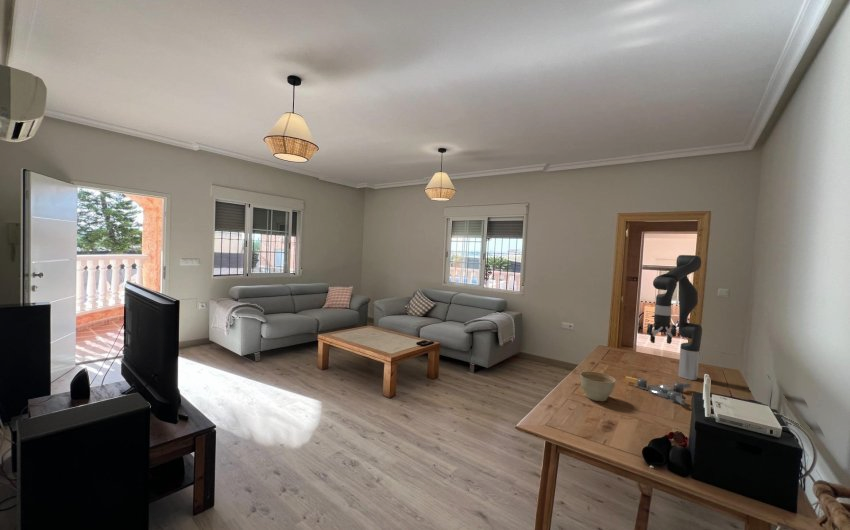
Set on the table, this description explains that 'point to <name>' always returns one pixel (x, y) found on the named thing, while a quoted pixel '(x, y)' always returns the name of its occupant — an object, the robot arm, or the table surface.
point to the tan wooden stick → (637, 381)
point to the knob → (676, 397)
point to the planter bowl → (597, 385)
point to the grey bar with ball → (681, 386)
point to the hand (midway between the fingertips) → (660, 343)
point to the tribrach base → (661, 391)
